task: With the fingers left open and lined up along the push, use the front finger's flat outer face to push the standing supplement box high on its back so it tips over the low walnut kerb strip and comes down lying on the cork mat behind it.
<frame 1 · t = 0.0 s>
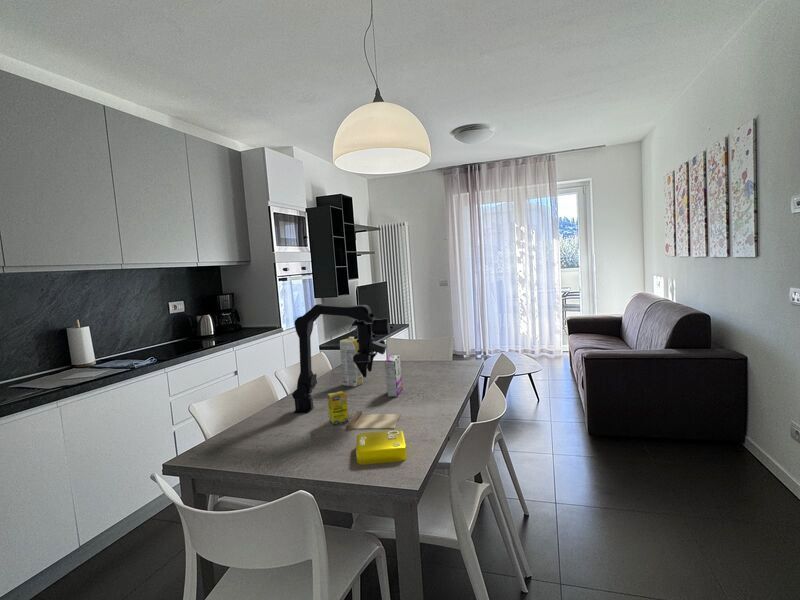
hand: (367, 374, 175), 15 cm above the table, tool pointing down, fingers open, 9 cm apart
candy bar box: (395, 393, 197), on the table
juice carton: (353, 384, 217), on the table
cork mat: (376, 421, 162), on the table
yellow flat block: (381, 454, 135), on the table
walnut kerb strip: (354, 422, 163), on the table
supplement box: (339, 422, 164), on the table
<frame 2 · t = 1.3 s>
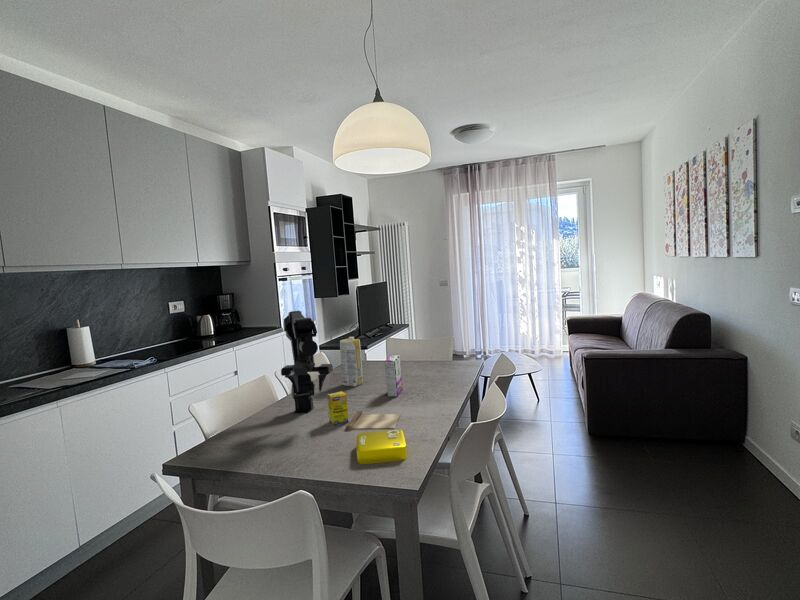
hand: (308, 391, 165), 12 cm above the table, tool pointing down, fingers open, 9 cm apart
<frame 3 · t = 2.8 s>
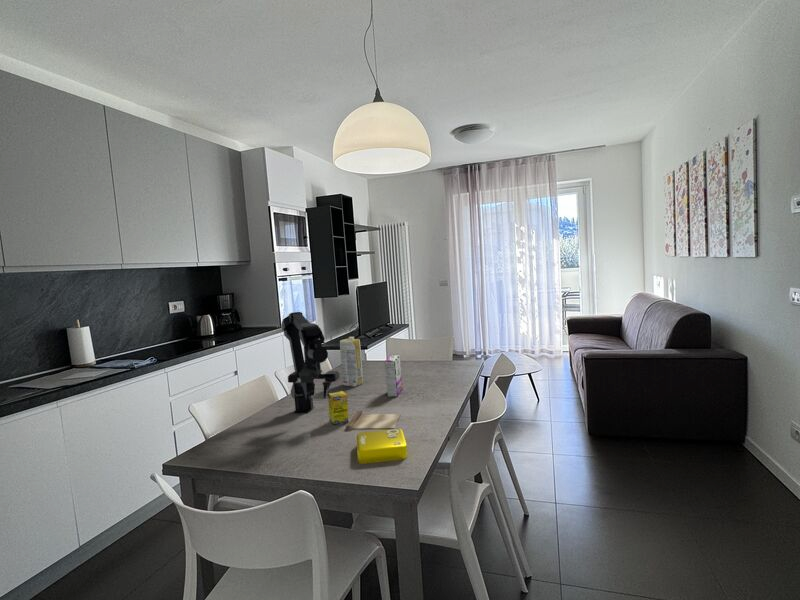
hand: (315, 398, 165), 9 cm above the table, tool pointing down, fingers open, 7 cm apart
supplement box: (339, 422, 164), on the table, touching gripper
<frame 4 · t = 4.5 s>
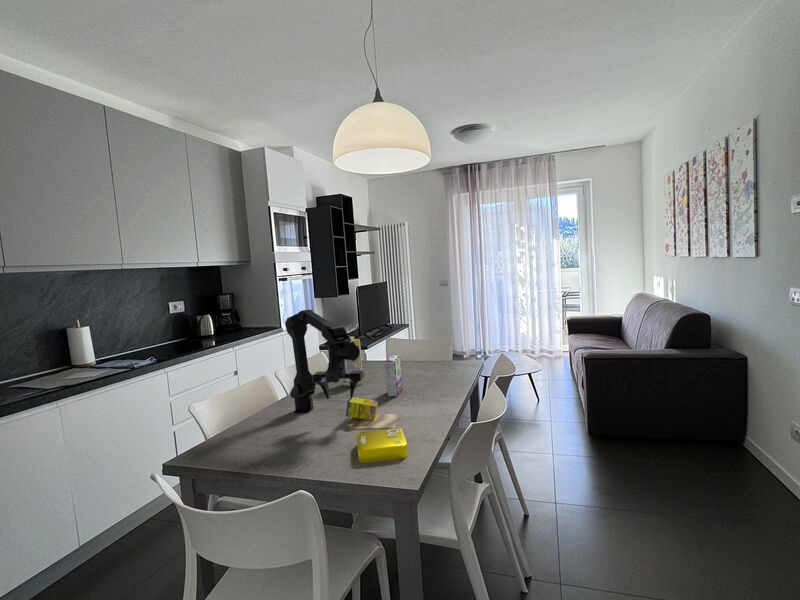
hand: (339, 398, 163), 9 cm above the table, tool pointing down, fingers open, 9 cm apart
supplement box: (347, 406, 166), point 5 cm above the table, touching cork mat, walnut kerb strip
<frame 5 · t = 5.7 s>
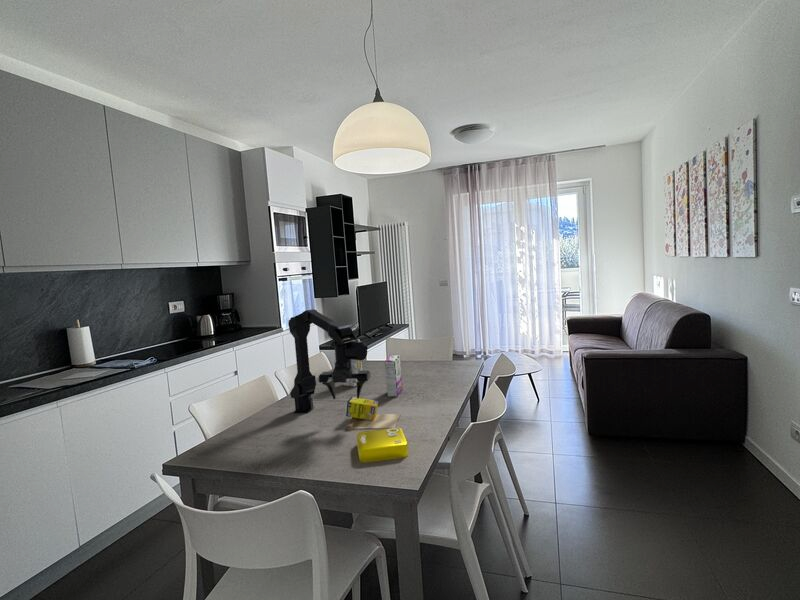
hand: (346, 398, 163), 9 cm above the table, tool pointing down, fingers open, 9 cm apart
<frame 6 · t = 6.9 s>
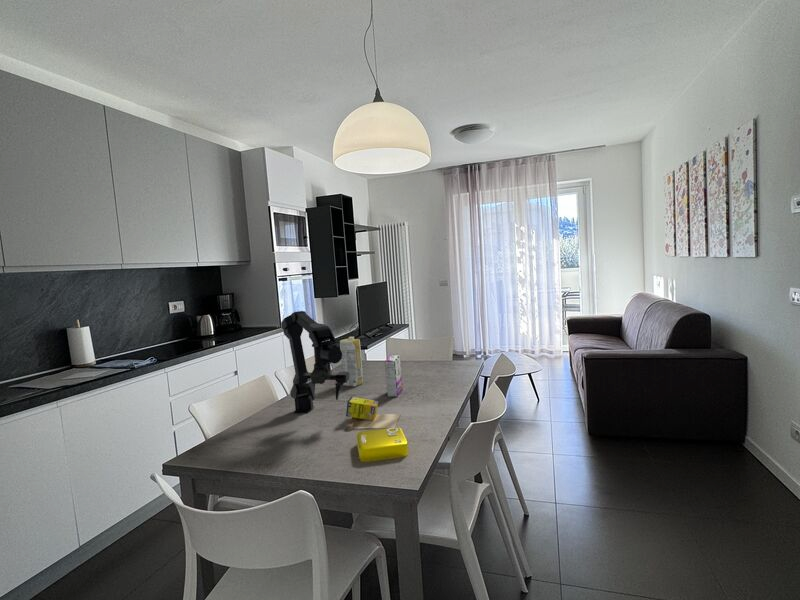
hand: (325, 399, 164), 9 cm above the table, tool pointing down, fingers open, 9 cm apart
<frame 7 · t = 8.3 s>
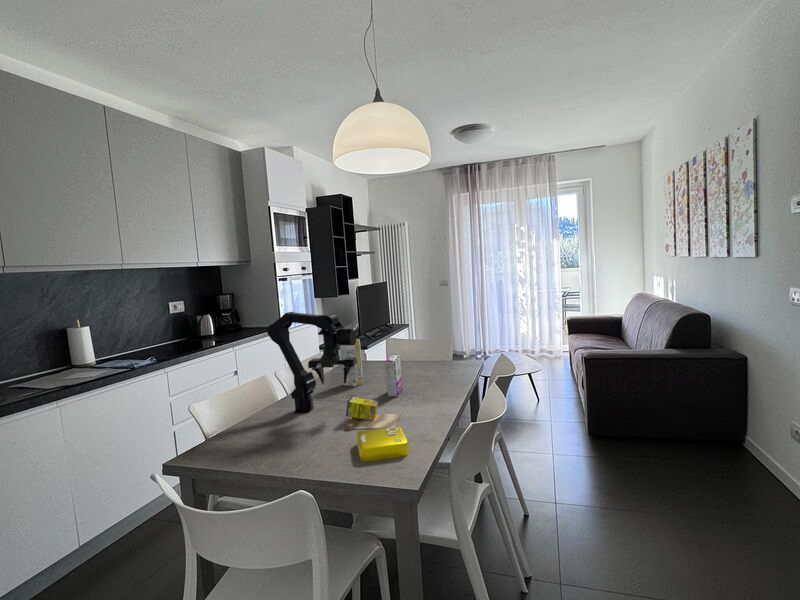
hand: (334, 383, 175), 12 cm above the table, tool pointing down, fingers open, 9 cm apart
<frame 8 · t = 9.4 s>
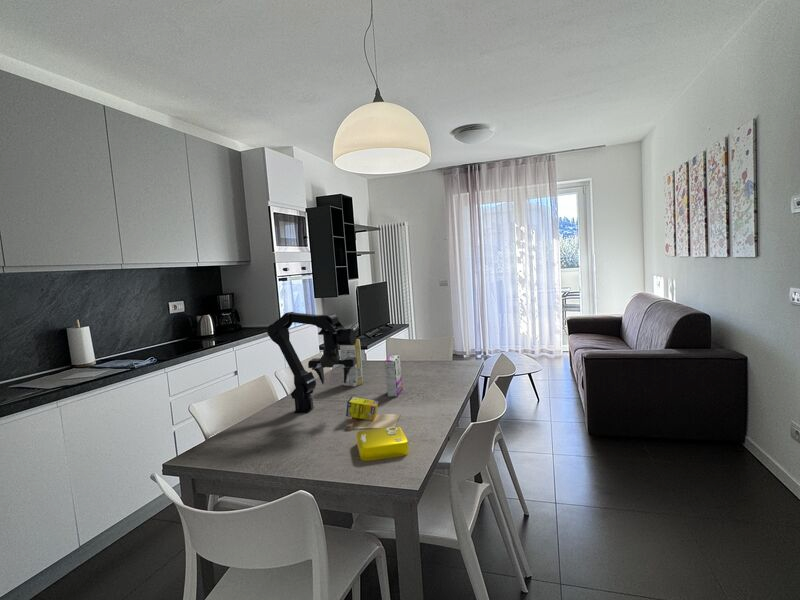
hand: (334, 383, 175), 12 cm above the table, tool pointing down, fingers open, 9 cm apart
at the end: supplement box tilted 100°; supplement box touching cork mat, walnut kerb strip; supplement box inside the target area (9.4 cm from its centre), point 5.2 cm above the table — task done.
